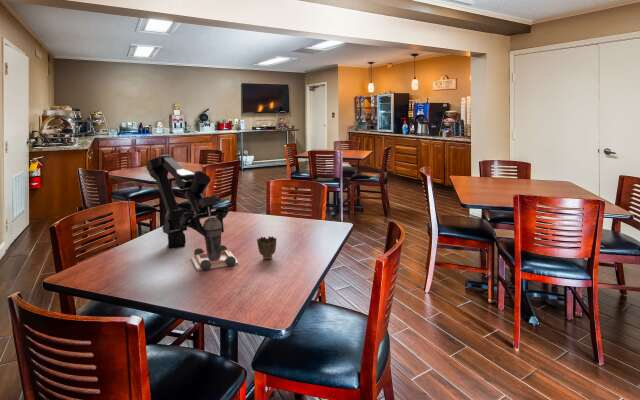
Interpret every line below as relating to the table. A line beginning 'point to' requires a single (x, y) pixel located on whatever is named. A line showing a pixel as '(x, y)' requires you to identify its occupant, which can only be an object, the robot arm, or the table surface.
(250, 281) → the table surface
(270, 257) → the cup
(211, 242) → the beverage cup
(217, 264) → the chassis
